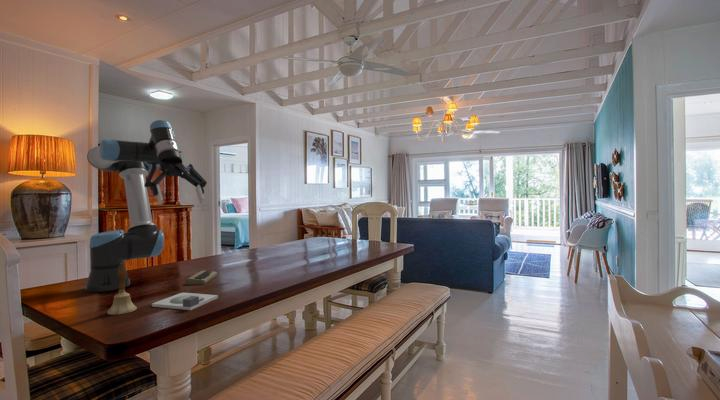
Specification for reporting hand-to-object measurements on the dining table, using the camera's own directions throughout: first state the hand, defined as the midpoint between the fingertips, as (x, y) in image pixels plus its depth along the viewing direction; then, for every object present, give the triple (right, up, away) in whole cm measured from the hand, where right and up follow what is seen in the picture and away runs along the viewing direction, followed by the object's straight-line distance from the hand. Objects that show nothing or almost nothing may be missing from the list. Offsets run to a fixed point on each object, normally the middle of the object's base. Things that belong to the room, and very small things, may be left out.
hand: (182, 201), depth 124 cm
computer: (-9, -36, +36) cm, 51 cm away
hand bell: (-17, -37, -5) cm, 41 cm away
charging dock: (0, -36, +3) cm, 36 cm away
